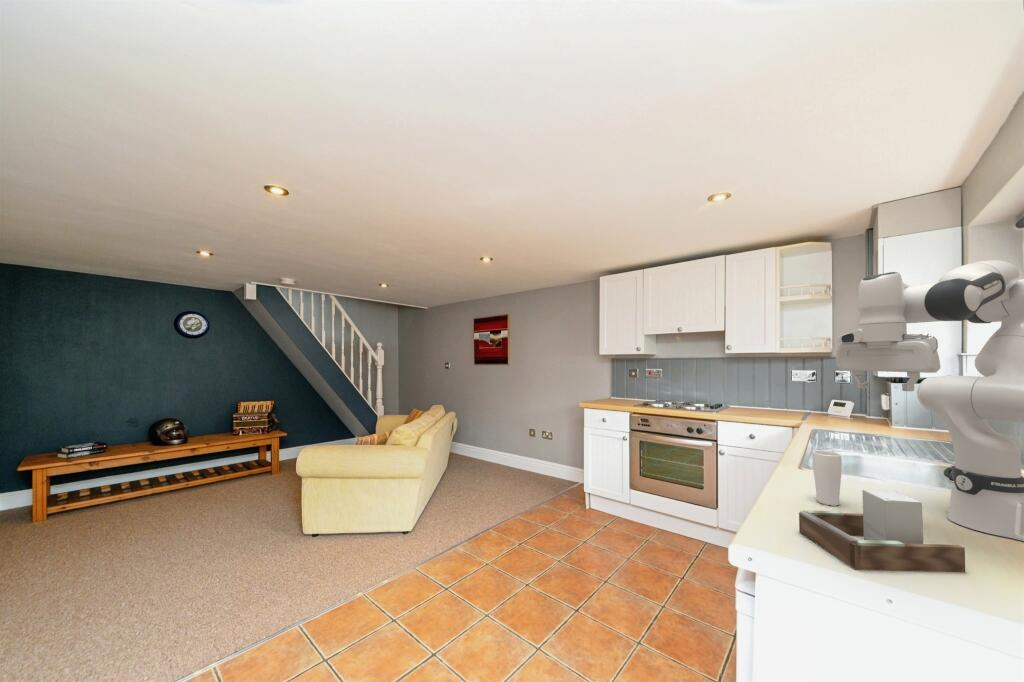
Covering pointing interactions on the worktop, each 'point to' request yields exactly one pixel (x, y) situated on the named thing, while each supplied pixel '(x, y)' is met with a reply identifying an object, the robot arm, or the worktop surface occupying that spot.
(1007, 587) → the worktop surface
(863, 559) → the wooden serving tray
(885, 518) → the supplement box
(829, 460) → the drinking glass
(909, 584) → the worktop surface
